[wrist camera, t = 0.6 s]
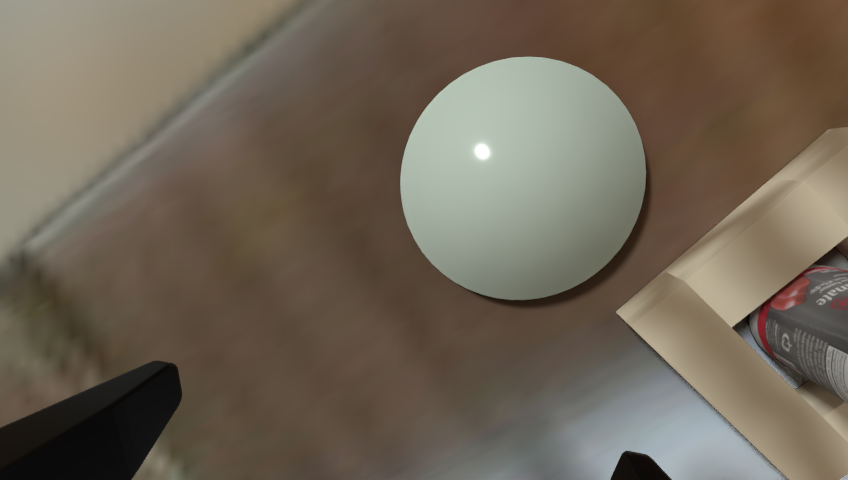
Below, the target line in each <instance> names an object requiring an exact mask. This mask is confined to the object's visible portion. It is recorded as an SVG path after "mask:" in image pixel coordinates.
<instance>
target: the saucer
mask: <svg viewBox="0 0 848 480" xmlns="http://www.w3.org/2000/svg"><path fill="white" fill-rule="evenodd" d="M645 183H646V164H645V155H644V150H643V145H642V141H641V138H640V135H639V132H638V130H637V127H636V124H635V123H634V121H633V119H632V117H631V115H630V113H629V112H628V110H627V109H626V107H625V106H624V105H623V103H622V102H621V101H620V99H619V98H618V97H617V96H616V95H615V94H614V93H613V92H612V91H611V90H610V89H609V88H608V87H607V86H606V85H605V84H604V83H602V82H601V81H600V80H598V79H597V78H596V77H594V76H593V75H591V74H589V73H588V72H586V71H584V70H582V69H580V68H578V67H576V66H573V65H570V64H568V63H565V62H562V61H558V60H553V59H548V58H540V57H516V58H508V59H503V60H498V61H494V62H491V63H488V64H485V65H483V66H480V67H477V68H475V69H473V70H471V71H469V72H467V73H465V74H464V75H462V76H461V77H459V78H458V79H456V80H455V81H453V82H452V83H450V84H449V85H448V86H447V87H446V88H445V89H443V90H442V91H441V92H440V93H439V94H438V95H437V96H436V97H435V98H434V99H433V100H432V102H431V103H430V104H429V105H428V106H427V107H426V109H425V110H424V112H423V113H422V115H421V116H420V118H419V119H418V121H417V123H416V125H415V127H414V129H413V131H412V133H411V135H410V137H409V140H408V143H407V146H406V149H405V152H404V157H403V161H402V167H401V179H400V185H401V199H402V205H403V211H404V214H405V217H406V221H407V224H408V227H409V229H410V231H411V233H412V235H413V237H414V240H415V241H416V243H417V244H418V246H419V247H420V249H421V251H422V252H423V253H424V255H425V256H426V257H427V258H428V259H429V261H430V262H431V263H432V264H433V265H434V266H435V267H436V268H437V269H438V270H439V271H441V272H442V273H443V274H444V275H445V276H447V277H448V278H450V279H451V280H452V281H454V282H455V283H457V284H459V285H461V286H463V287H465V288H467V289H469V290H471V291H474V292H476V293H479V294H482V295H486V296H490V297H494V298H500V299H508V300H529V299H537V298H543V297H547V296H551V295H555V294H558V293H561V292H563V291H566V290H568V289H571V288H573V287H575V286H577V285H578V284H580V283H582V282H584V281H586V280H587V279H589V278H590V277H591V276H593V275H594V274H596V273H597V272H598V271H599V270H601V269H602V268H603V267H604V266H605V265H606V264H607V263H608V262H609V261H610V260H611V259H612V258H613V257H614V256H615V255H616V253H617V252H618V251H619V250H620V249H621V247H622V246H623V244H624V243H625V241H626V240H627V238H628V237H629V235H630V233H631V231H632V229H633V227H634V225H635V223H636V221H637V218H638V215H639V212H640V209H641V206H642V202H643V197H644V192H645Z"/></svg>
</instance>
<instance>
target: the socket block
mask: <svg viewBox="0 0 848 480" xmlns="http://www.w3.org/2000/svg"><path fill="white" fill-rule="evenodd" d="M833 247H836V248H837V249H838V250H839V251H840V252H841V253H842V254H843V255H844V256H845V257H846V258H847V259H848V127H845V128H836V129H828V130H827V131H826V132H825V133H824V134H822V135H821V136H820V137H819V138H818V139H817V140H815V141H814V142H813V143H812V144H811V145H810V146H808V147H807V148H806V149H805V150H804V151H803V152H801V153H800V154H799V155H798V156H797V157H796V158H794V159H793V160H792V161H791V162H790V163H789V164H787V165H786V166H785V167H784V168H783V169H782V170H780V171H779V172H778V173H777V174H776V175H775V176H773V177H772V178H771V179H770V180H769V181H768V182H766V183H765V184H764V185H763V186H762V187H761V188H759V189H758V190H757V191H756V192H755V193H754V194H752V195H751V196H750V197H749V198H748V199H747V200H745V201H744V202H743V203H742V204H741V205H740V206H738V207H737V208H736V209H735V210H734V211H733V212H731V213H730V214H729V215H728V216H727V217H726V218H724V219H723V220H722V221H721V222H720V223H719V224H717V225H716V226H715V227H714V228H713V229H712V230H710V231H709V232H708V233H707V234H706V235H705V236H703V237H702V238H701V239H700V240H699V241H698V242H696V243H695V244H694V245H693V246H692V247H691V248H689V249H688V250H687V251H686V252H685V253H684V254H682V255H681V256H680V257H679V258H678V259H677V260H675V261H674V262H673V263H672V264H671V265H670V266H668V267H667V268H666V269H665V270H664V271H663V272H661V273H660V274H659V275H658V276H657V277H656V278H654V279H653V280H652V281H651V282H650V283H649V284H647V285H646V286H645V287H644V288H643V289H642V290H640V291H639V292H638V293H637V294H636V295H635V296H633V297H632V298H631V299H630V300H629V301H628V302H626V303H625V304H624V305H623V306H622V307H621V308H619V309H618V310H617V311H616V313H617V314H618V315H619V316H620V317H621V318H622V319H623V320H624V321H625V322H626V323H627V324H628V325H629V326H631V327H632V328H633V329H634V330H635V331H636V332H637V333H638V334H639V335H640V336H641V337H642V338H643V339H644V340H645V341H646V342H647V343H648V344H649V345H650V346H651V347H652V348H653V349H654V350H655V351H656V352H657V353H658V354H659V355H661V356H662V357H663V358H664V359H665V360H666V361H667V362H668V363H669V364H670V365H671V366H672V367H673V368H674V369H675V370H676V371H677V372H678V373H679V374H680V375H681V376H682V377H683V378H684V379H685V380H686V381H687V382H688V383H690V384H691V385H692V386H693V387H694V388H695V389H696V390H697V391H698V392H699V393H700V394H701V395H702V396H703V397H704V398H705V399H706V400H707V401H708V402H709V403H710V404H711V405H712V406H713V407H714V408H715V409H716V410H717V411H718V412H720V413H721V414H722V415H723V416H724V417H725V418H726V419H727V420H728V421H729V422H730V423H731V424H732V425H733V426H734V427H735V428H736V429H737V430H738V431H739V432H740V433H741V434H742V435H743V436H744V437H745V438H746V439H747V440H749V441H750V442H751V443H752V444H753V445H754V446H755V447H756V448H757V449H758V450H759V451H760V452H761V453H762V454H763V455H764V456H765V457H766V458H767V459H768V460H769V461H770V462H771V463H772V464H773V465H774V466H775V467H776V468H778V469H779V470H780V471H781V472H782V473H783V474H784V475H785V476H786V477H787V478H788V479H789V480H839V479H840V478H842V477H843V476H845V475H847V474H848V404H847V403H846V402H844V401H843V400H841V399H840V398H838V397H836V396H835V395H833V394H831V393H830V392H828V391H827V390H825V389H823V388H822V387H820V386H819V385H817V384H815V383H814V382H812V381H811V380H808V381H807V382H805V383H804V384H803V385H801V386H800V387H799V388H797V389H796V390H794V389H793V388H792V387H791V386H790V385H789V384H788V383H787V382H786V381H785V380H784V379H783V378H782V377H781V376H780V375H779V374H778V373H777V372H776V371H775V370H774V369H773V368H772V367H771V366H770V365H769V364H768V363H767V362H766V361H765V360H764V359H763V358H762V357H761V356H760V355H759V354H758V353H757V352H756V351H755V350H754V349H753V348H752V347H751V346H750V345H749V344H748V343H747V342H746V341H745V340H744V339H743V338H742V337H741V336H740V335H739V334H738V333H736V332H735V331H734V330H733V329H732V327H733V326H734V325H735V324H737V323H738V322H739V321H741V320H742V319H743V318H744V317H746V316H747V315H748V314H749V313H751V312H752V311H753V310H755V309H756V308H757V307H758V306H760V305H761V304H762V303H763V302H765V301H766V300H767V299H769V298H770V297H771V296H772V295H774V294H775V293H776V292H777V291H779V290H780V289H781V288H782V287H784V286H785V285H786V284H788V283H789V282H790V281H791V280H793V279H794V278H795V277H796V276H798V275H799V274H800V273H802V272H803V271H804V270H805V269H807V268H808V267H809V266H810V265H812V264H813V263H814V262H816V261H817V260H818V259H819V258H821V257H822V256H823V255H824V254H826V253H827V252H828V251H829V250H831V249H832V248H833Z"/></svg>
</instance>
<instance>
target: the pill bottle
mask: <svg viewBox="0 0 848 480" xmlns="http://www.w3.org/2000/svg"><path fill="white" fill-rule="evenodd" d="M749 323H750V328H751V332H752V334H753V336H754V338H755V340H756V341H757V343H758V344H759V346H760V347H761V348H762V349H763V350H764V351H765V352H767V353H768V354H769V355H771V356H772V357H774V358H775V359H777V360H778V361H780V362H781V363H783V364H784V365H786V366H787V367H789V368H791V369H792V370H794V371H796V372H797V373H799V374H801V375H802V376H804V377H806V378H807V379H809V380H811V381H812V382H814V383H815V384H817V385H819V386H820V387H822V388H823V389H825V390H827V391H828V392H830V393H831V394H833V395H835V396H836V397H838V398H840V399H841V400H843V401H844V402H846V403H847V404H848V271H846V270H842V269H838V268H834V267H830V266H825V265H810V266H809V267H808V268H807V269H805V270H804V271H803V272H802V273H800V274H799V275H798V276H796V277H795V278H794V279H793V280H791V281H790V282H789V283H788V284H786V285H785V286H784V287H782V288H781V289H780V290H779V291H777V292H776V293H775V294H774V295H772V296H771V297H770V298H769V299H767V300H766V301H765V302H763V303H762V304H761V305H760V306H758V307H757V308H756V309H755V310H753V311H752V312H751V313H750V319H749Z"/></svg>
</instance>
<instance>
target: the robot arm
mask: <svg viewBox="0 0 848 480" xmlns="http://www.w3.org/2000/svg"><path fill="white" fill-rule="evenodd" d="M181 398H182V389H181V384H180V378H179V372H178V368H177V366H176V365H175V364H173V363H168V362H163V361H152V362H150V363H147V364H145V365H143V366H141V367H138V368H136V369H134V370H131V371H129V372H127V373H124V374H122V375H120V376H118V377H115V378H113V379H111V380H108V381H106V382H104V383H102V384H99V385H97V386H95V387H92V388H90V389H88V390H86V391H83V392H81V393H79V394H76V395H74V396H72V397H69V398H67V399H65V400H63V401H60V402H58V403H56V404H53V405H51V406H49V407H47V408H44V409H42V410H40V411H37V412H35V413H33V414H30V415H28V416H26V417H24V418H21V419H19V420H17V421H14V422H12V423H10V424H8V425H5V426H3V427H1V428H0V480H132V478H133V477H134V475H135V474H136V472H137V471H138V469H139V468H140V466H141V464H142V463H143V461H144V460H145V458H146V457H147V455H148V453H149V452H150V450H151V449H152V447H153V445H154V444H155V442H156V441H157V439H158V438H159V436H160V434H161V433H162V431H163V430H164V428H165V426H166V425H167V423H168V422H169V420H170V419H171V417H172V415H173V414H174V412H175V411H176V409H177V407H178V406H179V404H180V401H181ZM611 480H671V478H670V477H669V476H668V475H667V474H666V473H665V472H664V471H663V470H662V469H661V468H660V467H659V466H658V465H657V463H656V462H655V461H654V460H653V459H652V458H651V457H649V456H648V455H646V454H641V453H636V452H631V451H625V452H624V453H623V454H622V455H621V457H620V459H619V462H618V464H617V466H616V468H615V470H614V472H613V475H612V477H611Z"/></svg>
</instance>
